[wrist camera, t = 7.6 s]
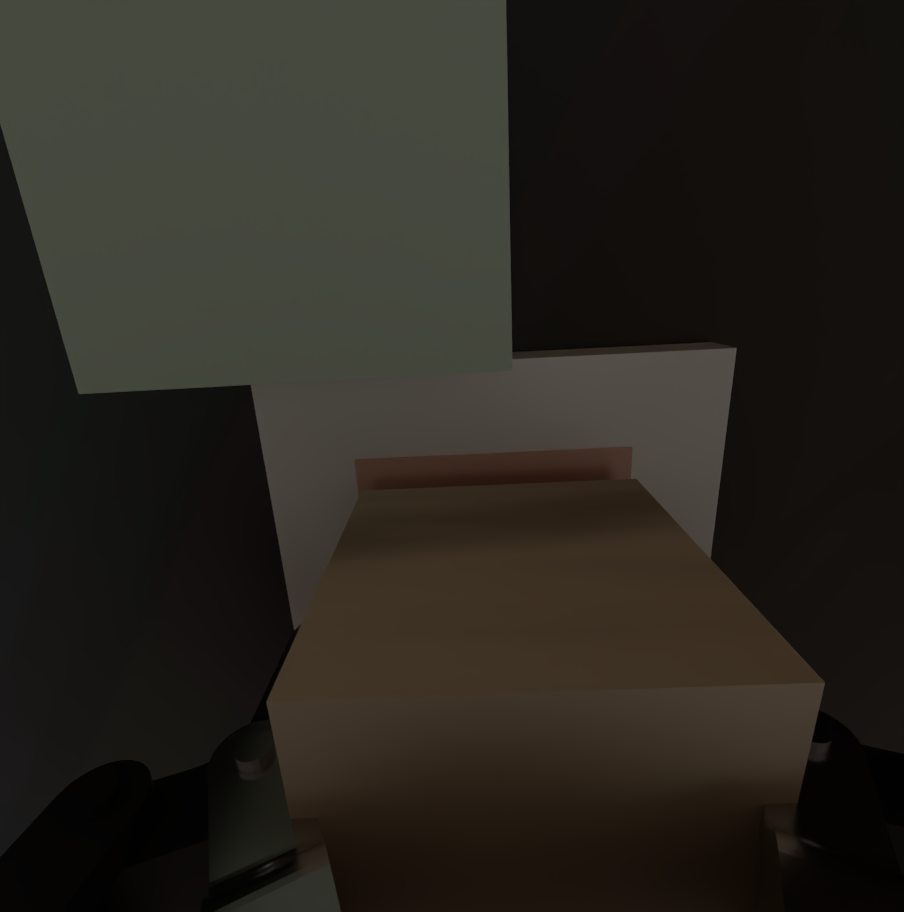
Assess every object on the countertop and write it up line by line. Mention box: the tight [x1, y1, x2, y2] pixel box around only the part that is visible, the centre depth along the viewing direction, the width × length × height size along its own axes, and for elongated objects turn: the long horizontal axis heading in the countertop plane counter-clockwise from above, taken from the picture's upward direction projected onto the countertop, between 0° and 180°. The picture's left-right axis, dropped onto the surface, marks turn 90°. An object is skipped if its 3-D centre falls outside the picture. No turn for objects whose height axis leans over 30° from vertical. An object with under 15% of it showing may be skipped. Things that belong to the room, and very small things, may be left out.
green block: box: [0, 0, 513, 394], centre depth 9 cm, size 6×6×6 cm
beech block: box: [266, 479, 825, 912], centre depth 9 cm, size 6×6×6 cm
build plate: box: [251, 342, 737, 630], centre depth 14 cm, size 11×11×1 cm
